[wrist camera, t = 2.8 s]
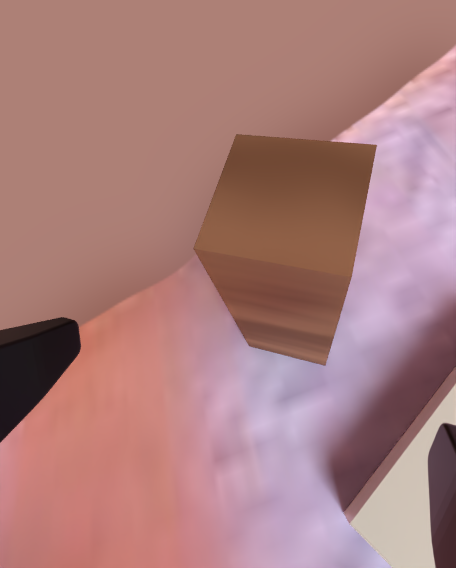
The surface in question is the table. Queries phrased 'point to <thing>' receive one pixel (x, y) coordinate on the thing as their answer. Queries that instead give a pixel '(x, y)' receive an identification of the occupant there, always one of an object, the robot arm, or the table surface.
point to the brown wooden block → (286, 238)
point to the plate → (404, 489)
